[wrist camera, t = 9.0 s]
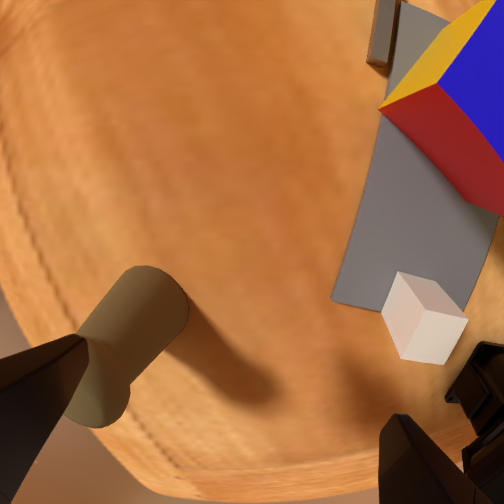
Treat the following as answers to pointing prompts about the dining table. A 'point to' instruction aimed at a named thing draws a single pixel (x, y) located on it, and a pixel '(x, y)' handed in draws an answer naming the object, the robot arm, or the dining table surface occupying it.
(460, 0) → the dining table surface
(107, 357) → the cork
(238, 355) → the dining table surface
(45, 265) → the dining table surface
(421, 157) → the grey panel with knob
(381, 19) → the lane rails
